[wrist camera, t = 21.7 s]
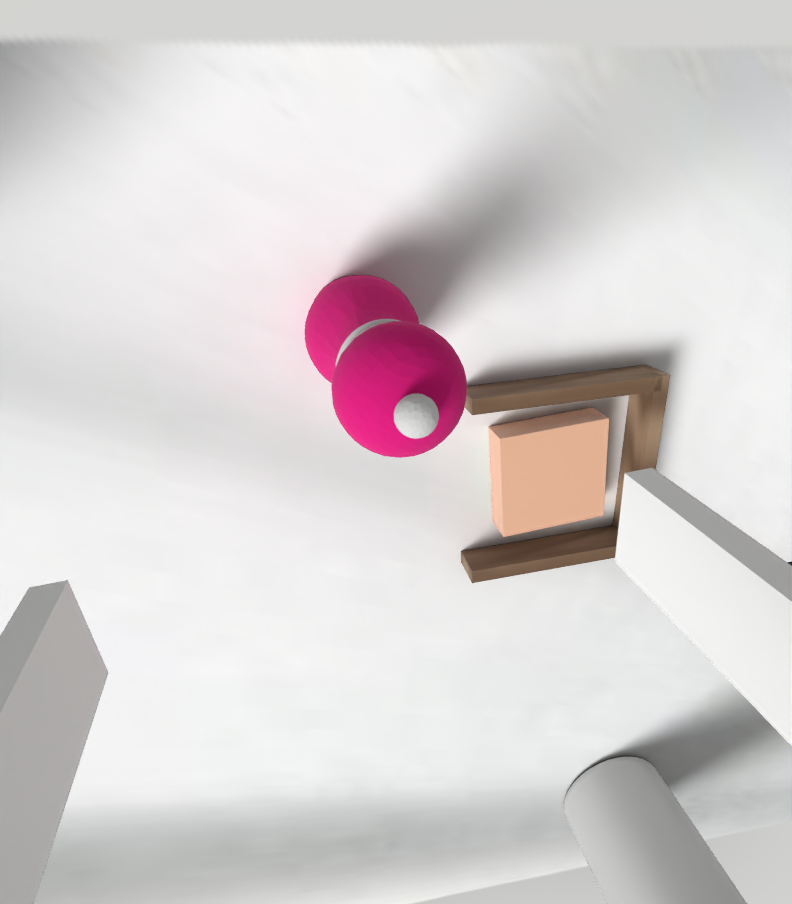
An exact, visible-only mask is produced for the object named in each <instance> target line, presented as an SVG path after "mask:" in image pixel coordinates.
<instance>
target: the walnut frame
mask: <svg viewBox="0 0 792 904" xmlns="http://www.w3.org/2000/svg"><path fill="white" fill-rule="evenodd" d="M669 379H670V375H669V374H667V373H665V372H662V371H660V370H658V369H655V368H653V367H651V366H648V365H640V366H631V367H623V368H615V369H607V370H598V371H590V372H582V373H573V374H565V375H557V376H548V377H540V378H532V379H523V380H515V381H507V382H498V383H490V384H482V385H474V386H467V396H466V402H465V406H464V407H465V408H466V409H467V410H468V411H469V412H470V413H471V414H472V415H477V414H485V413H492V412H500V411H508V410H516V409H523V408H531V407H539V406H547V405H554V404H562V403H570V402H578V401H585V400H593V399H601V398H609V397H616V396H624V395H629V402H628V410H627V418H626V425H625V433H624V441H623V449H622V457H621V465H620V472H619V480H618V488H617V496H616V504H615V512H614V520H613V526H608V527H602V528H596V529H590V530H584V531H578V532H572V533H567V534H561V535H555V536H549V537H543V538H537V539H531V540H525V541H519V542H513V543H507V544H501V545H495V546H489V547H483V548H477V549H472V550H466V551H461V563H462V565H463V566H464V568H465V570H466V572H467V574H468V576H469V578H470V580H471V582H472V583H475V582H481V581H486V580H492V579H497V578H503V577H509V576H514V575H520V574H525V573H531V572H537V571H542V570H548V569H554V568H559V567H565V566H570V565H576V564H582V563H587V562H593V561H598V560H604V559H610V558H615V554H616V545H617V536H618V528H619V519H620V510H621V501H622V492H623V483H624V474H625V473H627V472H632V471H638V470H643V469H648V468H653V469H655V468H656V462H657V455H658V449H659V443H660V436H661V430H662V424H663V417H664V411H665V405H666V398H667V392H668V386H669Z"/></svg>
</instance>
